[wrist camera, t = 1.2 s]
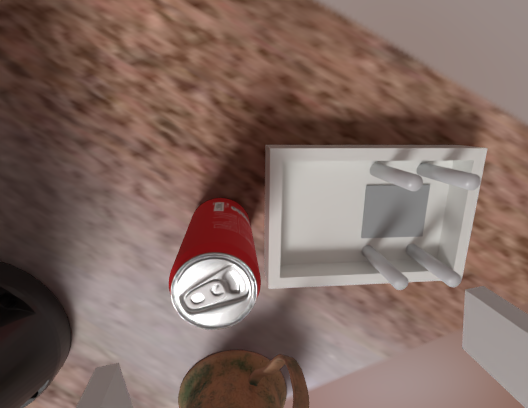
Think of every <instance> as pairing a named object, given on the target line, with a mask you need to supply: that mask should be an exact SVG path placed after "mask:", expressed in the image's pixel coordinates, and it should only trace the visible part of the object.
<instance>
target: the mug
mask: <svg viewBox="0 0 528 408" xmlns="http://www.w3.org/2000/svg"><path fill="white" fill-rule="evenodd" d="M285 364H286V366H287V368H288V371H289V374H290V379H291V383H292V388H293V408H309V395H308V390H307V386H306V382H305V378H304V375H303V372H302V370H301V368H300V366H299V364H298V362H297V361H296V360H295V359H293V358H291V357H288V356H285V355H281V354H279V355H277V356H276V357H274V358H273V359H272V360H269V359H268V358H266V357H264V356H262V355H260V354H257V353H254V352H250V351H244V350H230V351H223V352H219V353H216V354H213V355H211V356H208V357H206V358H204V359H203V360H201V361H200V362H198V363H197V364H196V365H195V366H193V367H192V368H191V369H190V371H189V372H188V373H187V374H186V376H185V377H184V379H183V381H182V384H181V387H180V391H179V397H178V403H179V408H283V407H284V404H285V401H286V392H287V391H286V384H285V380H284V377H283V375H282V373H281V371H280V369H281V368H282V367H283V366H284V365H285Z"/></svg>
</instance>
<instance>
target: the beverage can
mask: <svg viewBox="0 0 528 408" xmlns="http://www.w3.org/2000/svg"><path fill="white" fill-rule="evenodd" d="M260 285H261V280H260V273H259V267H258V262H257V257H256V251H255V246H254V241H253V236H252V230H251V225H250V220H249V217H248V214H247V213H246V211H245V210H244V208H243V207H242V206H241V205H239V204H238V203H237V202H235V201H233V200H230V199H226V198H215V199H211V200H208V201H206V202H204V203H203V204H201V205H200V206H199V207H198V208H197V209H196V211H195V212H194V214H193V217H192V219H191V222H190V224H189V227H188V229H187V232H186V234H185V237H184V239H183V242H182V244H181V247H180V249H179V252H178V255H177V257H176V260H175V262H174V265H173V267H172V270H171V273H170V277H169V291H170V295H171V300H172V303H173V306H174V308H175V310H176V311H177V313H178V314H179V315H180V316H181V317H182V318H183V319H184V320H185V321H186V322H188V323H190V324H191V325H193V326H196V327H199V328H202V329H206V330H218V329H224V328H228V327H231V326H233V325H235V324H237V323H239V322H240V321H242V320H243V319H244V318H245V317H246V316H247V315H248V314H249V313H250V312H251V310H252V309H253V307H254V305H255V302H256V299H257V297H258V295H259V291H260Z"/></svg>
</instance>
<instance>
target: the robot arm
mask: <svg viewBox="0 0 528 408" xmlns="http://www.w3.org/2000/svg"><path fill="white" fill-rule="evenodd" d="M70 343H71V332H70V326H69V322H68V319H67V316H66V314H65V311H64V310H63V308H62V306H61V304H60V303H59V301H58V300H57V299H56V297H55V296H54V295H53V294H52V292H51V291H50V290H49V289H48V288H47V287H45V286H44V285H43V284H42V283H41V282H39V281H38V280H37V279H35V278H34V277H32V276H31V275H29V274H28V273H26V272H24V271H22V270H20V269H18V268H16V267H14V266H11V265H8V264H6V263H2V262H0V408H24V407H25V406H27V405H28V404H30V403H31V402H32V401H34V400H35V399H36V398H37V397H38V396H40V395H41V394H42V393H43V392H44V390H45V389H46V388H47V387H48V386H49V385H50V383H51V382H52V380H53V379H54V377H55V376H56V375H57V373H58V372H59V370H60V369H61V367H62V366H63V364H64V362H65V360H66V358H67V356H68V353H69V349H70ZM462 348H463V349H464V350H465V351H466V352H467V353H468V354H469V355H470V356H471V357H472V358H473V359H474V360H475V361H476V362H478V363H479V364H480V365H481V366H482V367H483V368H484V369H485V370H486V371H487V372H488V373H489V374H490V375H491V376H492V377H493V378H495V380H496V381H498V382H499V383H500V384H501V385H502V386H503V387H504V388H505V389H506V390H507V391H508V392H509V393H510V394H511V395H512V396H513V397H514V398H515V399H516V400H518V401H519V402H520V403H521V404H522V405H523V406H524V407H525V408H528V314H527V313H525V312H523V311H522V310H520V309H519V308H517V307H516V306H514V305H512V304H511V303H509V302H508V301H506V300H505V299H503V298H501V297H500V296H498V295H497V294H495V293H494V292H492V291H491V290H489V289H487V288H486V287H484V286H481V287H476V288H471V289H467V290H465V304H464V323H463V344H462ZM76 408H134V407H133V405H132V402H131V399H130V396H129V393H128V390H127V387H126V384H125V381H124V378H123V375H122V372H121V369H120V366H119V363H116V364H111V365H106V366H102V367H97V368H96V369H95V371H94V373H93V375H92V377H91V379H90V381H89V383H88V385H87V387H86V389H85V391H84V393H83V395H82V397H81V399H80V401H79V403H78V405H77V407H76Z"/></svg>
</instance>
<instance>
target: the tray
mask: <svg viewBox="0 0 528 408" xmlns="http://www.w3.org/2000/svg"><path fill="white" fill-rule="evenodd" d="M486 153H487V148H482V147H473V146H464V145H265V238H264V272H265V276H266V281H267V285H268V289H276V288H296V287H317V286H338V285H359V284H380V283H390V284H391V285H392V286H393V287H394V288H395V289H397V290H402V289H404V288H406V287H407V285H408V282H422V281H443V282H444V283H446V284H447V285H448V286H450V287H456V286H458V285H459V284H460V283H461V280H462V276H463V271H464V266H465V261H466V255H467V250H468V245H469V240H470V235H471V230H472V225H473V220H474V214H475V209H476V204H477V199H478V194H479V189H480V184H481V179H482V173H483V168H484V163H485V158H486Z"/></svg>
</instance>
